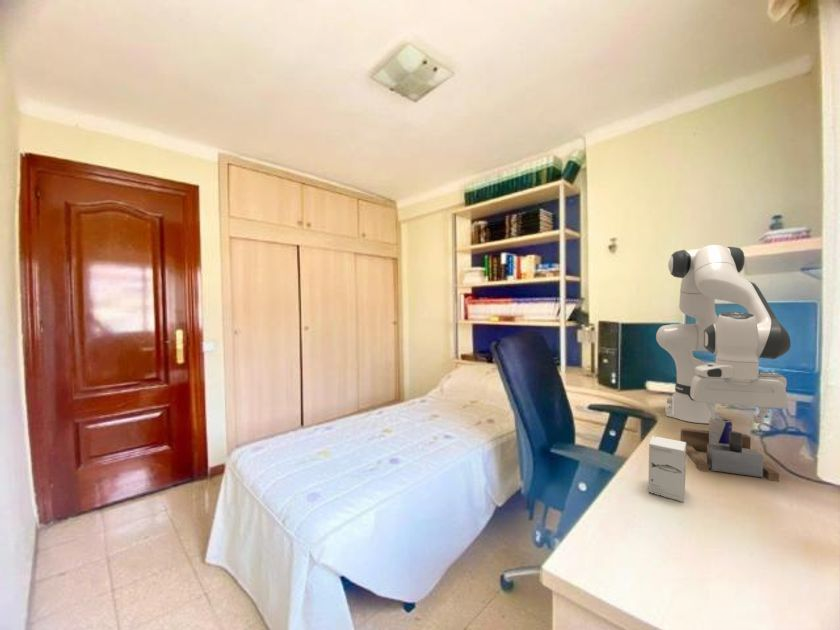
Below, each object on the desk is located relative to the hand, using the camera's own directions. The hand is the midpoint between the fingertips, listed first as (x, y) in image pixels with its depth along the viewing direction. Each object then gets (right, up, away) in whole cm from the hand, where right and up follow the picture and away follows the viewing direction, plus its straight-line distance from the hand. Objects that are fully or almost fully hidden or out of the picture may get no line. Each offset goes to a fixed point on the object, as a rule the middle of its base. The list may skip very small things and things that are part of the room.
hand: (736, 420), depth 97 cm
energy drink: (+4, -15, +10) cm, 18 cm away
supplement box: (-25, -15, -9) cm, 31 cm away
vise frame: (+3, -15, +7) cm, 17 cm away
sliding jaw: (+1, -15, +1) cm, 15 cm away
